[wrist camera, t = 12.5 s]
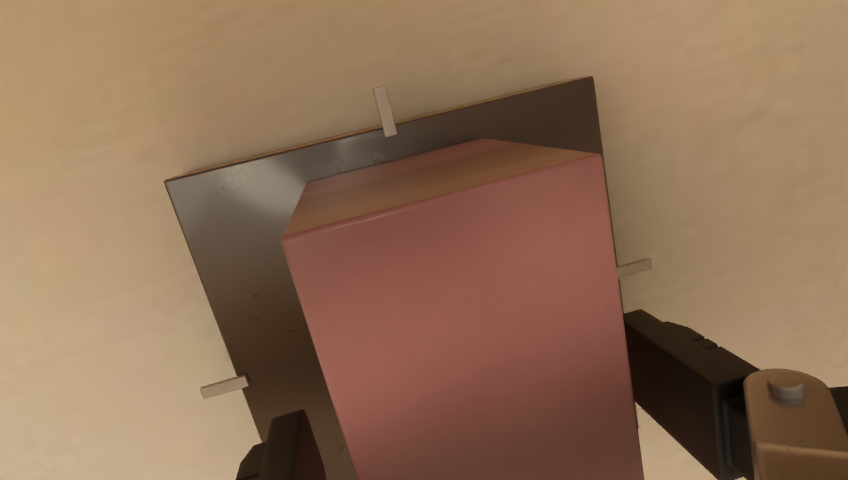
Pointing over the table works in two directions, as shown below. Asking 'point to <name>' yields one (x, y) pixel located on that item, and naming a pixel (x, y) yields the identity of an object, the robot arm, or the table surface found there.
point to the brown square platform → (272, 209)
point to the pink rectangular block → (470, 315)
